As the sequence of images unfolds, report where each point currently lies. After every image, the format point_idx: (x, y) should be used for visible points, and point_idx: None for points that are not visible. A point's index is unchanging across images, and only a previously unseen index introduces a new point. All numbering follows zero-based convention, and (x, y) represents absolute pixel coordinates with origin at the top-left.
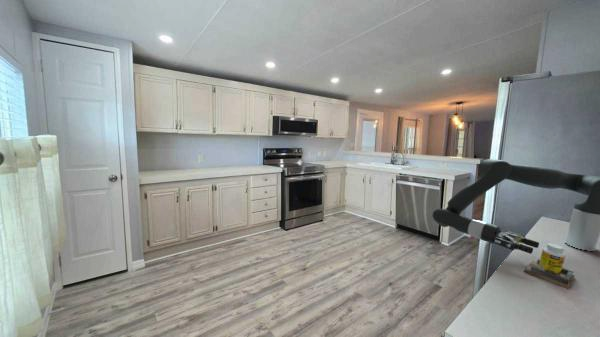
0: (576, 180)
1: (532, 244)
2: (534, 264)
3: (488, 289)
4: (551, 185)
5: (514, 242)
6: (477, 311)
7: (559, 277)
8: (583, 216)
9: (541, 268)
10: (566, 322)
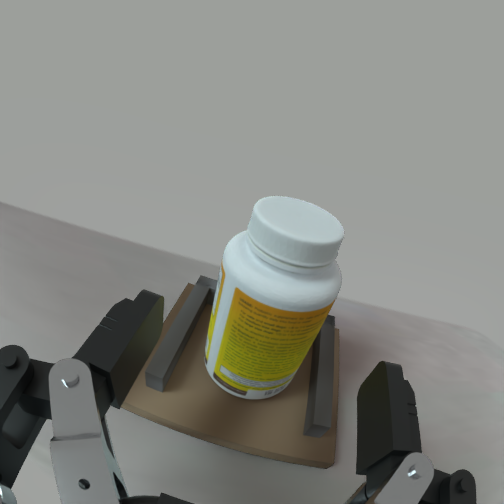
0: None
1: (144, 348)
2: (189, 408)
3: None
4: None
5: (425, 490)
6: None
7: (334, 335)
8: None
9: (284, 385)
10: (499, 359)
